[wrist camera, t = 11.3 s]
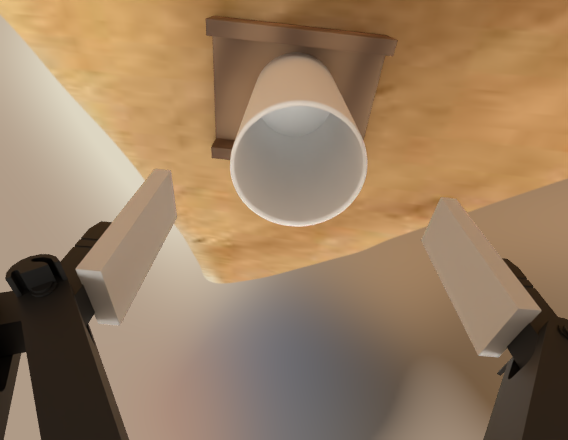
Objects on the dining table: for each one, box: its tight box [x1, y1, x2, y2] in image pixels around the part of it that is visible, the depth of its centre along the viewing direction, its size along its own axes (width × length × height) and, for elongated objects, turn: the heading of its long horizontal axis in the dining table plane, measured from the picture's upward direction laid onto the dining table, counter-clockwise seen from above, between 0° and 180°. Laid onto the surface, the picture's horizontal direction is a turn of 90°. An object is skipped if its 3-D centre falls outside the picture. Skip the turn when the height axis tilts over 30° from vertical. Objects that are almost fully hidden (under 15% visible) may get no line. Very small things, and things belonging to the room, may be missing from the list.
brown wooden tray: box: [206, 16, 398, 160], centre depth 31 cm, size 16×12×4 cm
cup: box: [230, 53, 367, 226], centre depth 25 cm, size 8×8×16 cm
